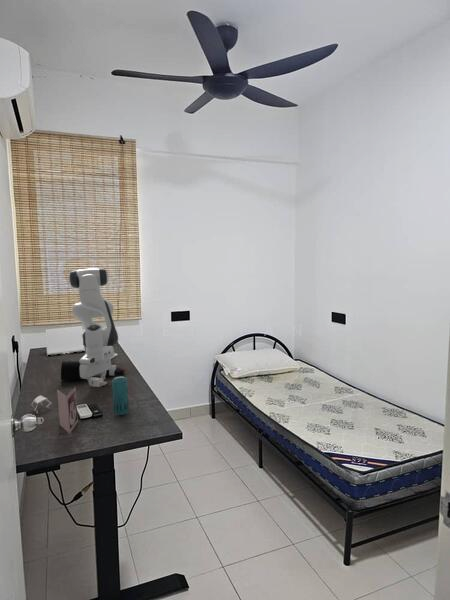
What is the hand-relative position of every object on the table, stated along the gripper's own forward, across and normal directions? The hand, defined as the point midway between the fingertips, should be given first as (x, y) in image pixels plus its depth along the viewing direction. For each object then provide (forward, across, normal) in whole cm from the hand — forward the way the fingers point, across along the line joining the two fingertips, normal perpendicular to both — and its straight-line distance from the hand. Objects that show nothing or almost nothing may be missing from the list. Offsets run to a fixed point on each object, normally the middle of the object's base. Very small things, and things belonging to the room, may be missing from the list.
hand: (97, 382), depth 212 cm
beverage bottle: (+2, +28, +38) cm, 47 cm away
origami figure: (+2, +34, -2) cm, 34 cm away
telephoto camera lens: (+2, -11, -12) cm, 16 cm away
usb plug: (+2, 0, 0) cm, 2 cm away
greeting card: (+2, +46, +25) cm, 52 cm away
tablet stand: (+2, -52, -76) cm, 92 cm away
